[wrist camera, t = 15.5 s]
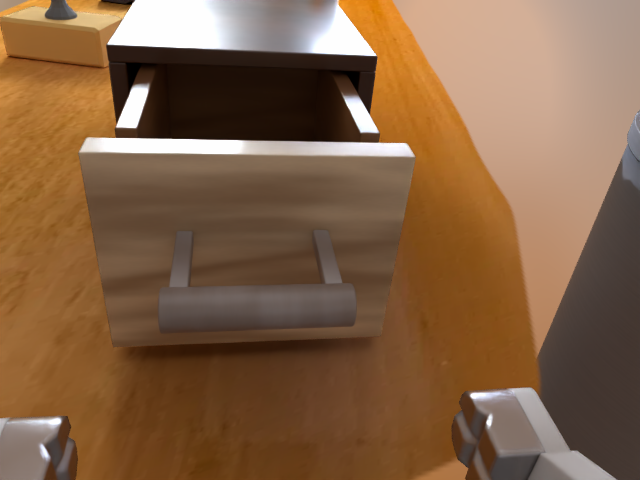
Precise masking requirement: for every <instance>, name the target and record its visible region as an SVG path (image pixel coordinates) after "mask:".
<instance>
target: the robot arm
mask: <svg viewBox="0 0 640 480" xmlns="http://www.w3.org/2000/svg"><path fill="white" fill-rule="evenodd" d="M459 404H460V407H461V409H462V410H461V411H460V412H459V413H458V414H456V415H455V416H454V419H453V423H452V442H453V446H454V450H455V453H456V456H457V458H458V460H459V461H460V462H461V463H463V464H464V465H465V466H466V467H468V471H467V475H466V478H465V479H466V480H617V479H615V478H614V477H612V476H611V475H610V474H608V473H607V472H606V471H604V470H603V469H601V468H600V467H599V466H597V465H596V464H595V463H593V462H592V461H590V460H589V459H588V458H586V457H585V456H584V455H582V454H581V453H579V452H578V451H570V449H569V447H568V446H567V444H566V442H565V441H564V439H563V437H562V435H561V434H560V432H559V430H558V429H557V427H556V425H555V424H554V422H553V420H552V419H551V417H550V415H549V413H548V412H547V410H546V408H545V407H544V405H543V403H542V402H541V400H540V398H539V396H538V395H537V393H536V391H534V390H533V389H532V388H514V389H506V388H505V389H491V390H478V391H465V392H464V393H463V394H462V395H461V398H460V401H459ZM70 429H71V425H70V422H69V419H68V416H50V417H20V418H0V480H76V475H77V464H78V455H77V447H76V443H75V441H74V440H73V439H71V438H69V437H68V436H69V433H70Z"/></svg>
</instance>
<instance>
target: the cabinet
mask: <svg viewBox="0 0 640 480" xmlns="http://www.w3.org/2000/svg"><path fill="white" fill-rule="evenodd" d="M106 49H107V57H108V61H109V71H110V79H111V87H112V94H113V102H114V109H115V117H116V124H117V122H118V120H119V117H120V115H121V112H122V110H123V107H124V105H125V103H126V100H127V98H128V95H129V93H130V90H131V88H132V86H133V83H134V81H135V78H136V76H137V73H138V71H139V69H140V66H141V64H142V63H153V64H179V65H205V66H231V67H257V68H283V69H309V70H335V71H345V72H346V74H347V76H348V77H349V79H350V81H351V83H352V84H353V86H354V88H355V90H356V92H357V93H358V95H359V97H360V99H361V101H362V102H363V104H364V106H365V108H366V110H367V111H368V113H369V115H370V109H371V102H372V95H373V87H374V80H375V71H376V64H377V55H376V54H375V53H374V51H373V50H372V49H371V48H370V46H369V45H368V44H367V42H366V41H365V40H364V38H363V37H362V36H361V34H360V33H359V32H358V30H357V29H356V28H355V27H354V25H353V24H352V23H351V21H350V20H349V19H348V17H347V16H346V15H345V13H344V12H343V11H342V9H341V8H340V7H339V6H338V4H337V3H336V2H335V0H135V1H134V2H133V4H132V6H131V7H130V9H129V10H128V12H127V13H126V15H125V16H124V18H123V20H122V21H121V23H120V24H119V26H118V27H117V29H116V30H115V32H114V34H113V35H112V37H111V38H110V40H109V41H108V43H107V44H106Z"/></svg>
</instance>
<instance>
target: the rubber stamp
mask: <svg viewBox="0 0 640 480" xmlns="http://www.w3.org/2000/svg"><path fill="white" fill-rule="evenodd" d="M121 21H122V19H121V18H120V17H119V16H113V15H104V14H96V13H87V12H78V11H73V10H72V9H71V8H70V7H69V6H68V4H67V3H66V0H51V6H50V7H49V8H44V7H35V6H32V7H28V8H26V9H23V10H20V11H17V12H14V13H12V14H9V15H6V16H3V17H0V26H1V31H2V35H3V39H4V43H5V48H6V52H7V55H9V56H12V57H20V58H28V59H36V60H45V61H53V62H61V63H69V64H78V65H86V66H94V67H102V68H105V67H106V66H108V65H109V61H108V57H107V49H106V44H107V43H108V41H109V40H110V38H111V37H112V35H113V34H114V32H115V30H116V29H117V27H118V26H119V24H120V23H121Z"/></svg>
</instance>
